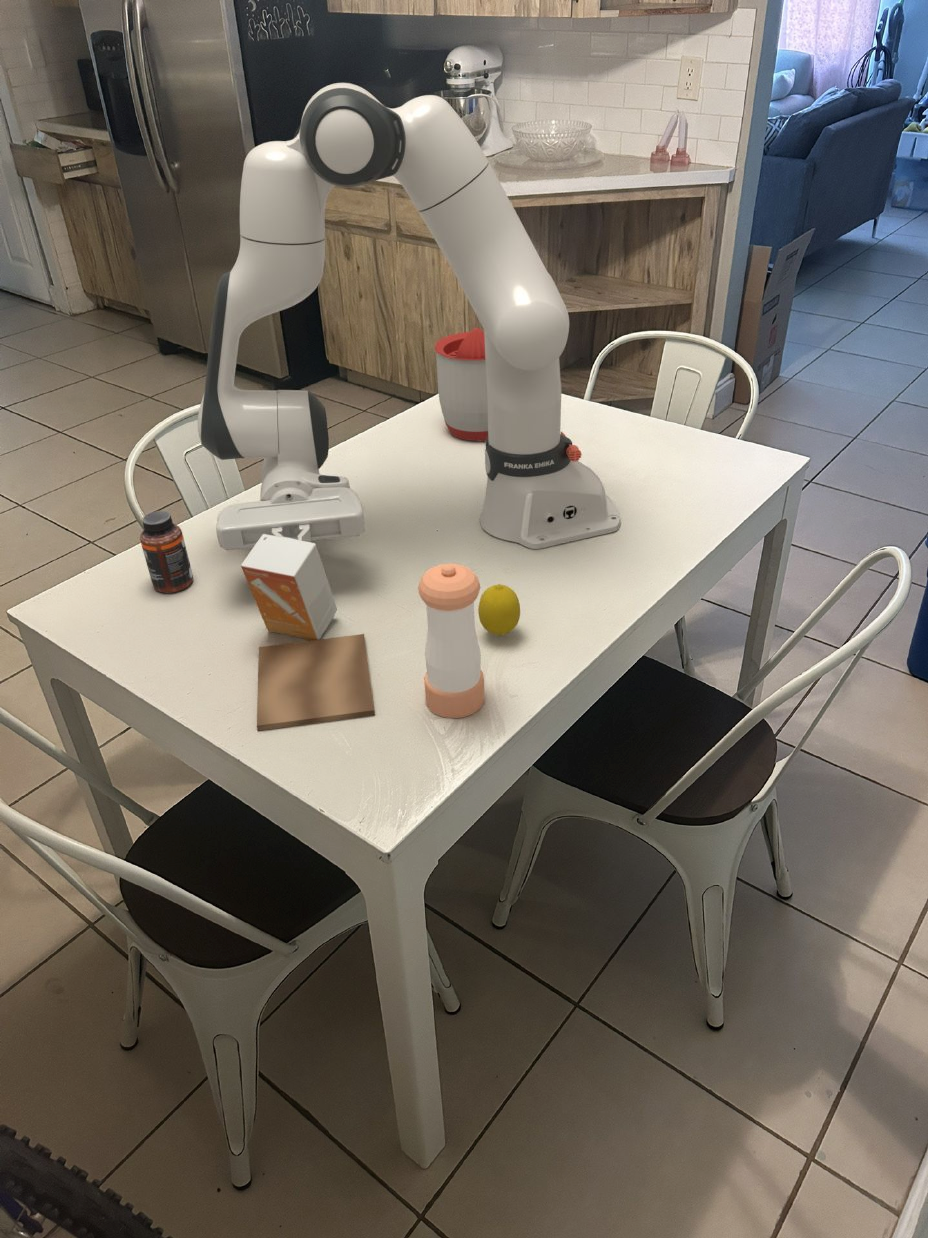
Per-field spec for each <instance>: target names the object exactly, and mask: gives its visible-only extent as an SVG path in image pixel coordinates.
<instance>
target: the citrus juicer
mask: <svg viewBox="0 0 928 1238" xmlns="http://www.w3.org/2000/svg"><path fill="white" fill-rule="evenodd" d="M433 348H434V351H435V355H436V374H437V391H438V399H439V403H440V404H439V405H440V410H441V413H442V415H443V419H444V423H445V426H446V427H447V429H448V431H449V433H450V434H451V435H453V436H454V437H456V438H459V439H461V440H467V441H480V442H486V439H487V437H488V399H487V378H486V359H485V339H484V330H481V329H480V328H478V327H474V328H473V329H472V330H471V331H466V332H465V331H464V332H459V333H458V332H457V333H454V334H450V335H447V336H445V337H442V338H440V339H439V340H437V341H436V343H435V344H434V347H433Z"/></svg>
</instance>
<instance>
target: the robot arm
mask: <svg viewBox="0 0 928 1238" xmlns="http://www.w3.org/2000/svg"><path fill="white" fill-rule="evenodd" d="M389 177H394V178H395V179H396V180H397V181H398V182H399V184H400V185H401V186H402V188H403V189H404V191H405V192H406V193H407V195H408V198H409V199H410V201H411V202H412V204H413V206H414V207H415V209H416V211H417V212H418V214H419V216H420V217H421V219H422V220H423V222H424V224H425V226H426V227H427V229H428V231H429V233H430V234H431V236H432V238H433V239H434V240H435V242H436V244H437V246H438V247H439V249H440V251H441V253H442V254H443V256H444V258H445V259H446V261H447V263H448V265H449V266H450V268H451V270H452V272H453V273H454V277H455V278H456V279H457V281H458V284H459V285H460V287H461V289H462V291H463V293H464V295H465V296H466V299H467V301H468V302H469V304H470V306H471V308H472V310H473V311H474V314H475V316H476V317H477V319H478V321H479V322H480V325H481V326H482V328H483V331H484V339H485V359H486V378H487V399H488V437H487V439H486V441H485V449H484V464H485V465H484V466H485V467H484V468H485V473H486V476H487V477H486V478H487V480H486V489H485V490H486V491H485V495H484V496H485V497H484V502H483V507H482V510H481V513H480V518H479V524H480V525H481V528H482V529H483V530H484V531H485V532H486V533H488V534H489V535H491V536H492V537H495V538H498V539H500V540H505V541H508V542H509V541H510V542H513V543H518V544H520V545H522V546H523V547H526V548H529V549H532V550H538V549H539V550H540V549H544V548H547V547H548V548H549V547H552V546H557V545H561V543H562V544H566V543H570V541H571V542H574V541H579V540H583V539H587V538H592V537H597V536H602V535H605V534H609V533H610V534H611V533H613V532H616V531H618V530H619V528H620V527H621V526H620V525H621V515H620V510H619V508H618V507H617V505H616V503H614V501H613V499H611V497H609V496H608V495H607V494H606V491H605V487H604V484H603V482H602V480H601V479H600V477H599V476H598V475H597V474H596V472H595V471H594V470H593V469H591V468H590V467H588V466H587V465H585V464H584V463H582V462H580V459H581V458H582V451H581V450H580V449H579V447H578V446H577V445H575V444H573V441H572V440H571V439H570V438H569V437H567V435H566V434H565V433H564V432H563V431H561V419H562V415H561V414H562V382H561V381H562V380H561V367H560V357H561V355H562V353H563V352H564V350H565V348H566V344H567V342H568V337H569V332H570V331H569V330H570V316H569V312H568V308H567V306H566V304H565V301H564V300H563V298H562V295H561V294H560V291H559V288H558V287H557V284H556V283H555V281H554V279H553V277H552V276H551V274H550V273H549V272H548V271H547V268H546V266H545V265H544V262H543V261H542V259H541V257H540V256H539V253H538V251H537V250H536V248H535V245H534V244H533V242H532V240H531V238H530V236H529V235H528V233H527V231H526V228H525V227H524V225H523V223H522V221H521V219H520V217H519V215H518V214H517V211H516V209H515V208H514V206H513V204H512V202H511V201H510V198H509V197H508V195H507V193H506V192H505V189H504V188H503V186H502V184H501V181H500V180H499V178H498V177H497V174H496V173H495V170H494V169H493V167H492V165H491V163H490V161H489V160H488V158H487V156H486V155H485V153H484V151H483V148H481V146H480V144H479V142H478V141H477V140H476V138H475V136H474V135H473V134H472V132H471V131H470V129H469V128H468V126H467V125H466V123H465V122H464V121H463V120H462V117H460V115H459V114H458V113H457V112H456V111H455V110H454V108H453V106H451V104H450V103H449V102H448V101H447V100H446V99H444V98H443V97H440V96H439V95H434V94H426V95H421V96H418V97H413V98H412V99H410V100H408V101H406V102H405V103H404V104H402V105H401V106H397V107H395V108H390V107H387V106H385V104H383V103H381V102H380V101H379V100H378V99H377V98H376V97H375V96H374V95H373V94H371V93H370V92H369V91H368V90H366V89H365V88H363V87H362V86H359V85H356V84H353V83H350V82H336V83H332V84H329V85H326V86H324V87H322V88H320V89H319V90H318V91H317V92H316V93H314V95H312V96H311V98H310V99H309V100H308V102H307V104H306V105H305V108H304V110H303V113H302V116H301V122H300V124H299V126H298V128H297V129H296V131H295V134H294V136H293V139H290V140H286V141H284V140H283V141H282V140H273V141H267V142H263V143H261V144H259V145H257V146H255V147H253V148H252V149H251V150H250V151H249V152H248V154H247V155H246V157H245V159H244V161H243V168H242V175H241V182H240V183H241V185H240V196H239V235H240V236H239V237H240V244H239V250H238V255H237V258H236V261H235V263H234V265H233V267H232V268H231V270H230V271H228V272H226V273H224V274H222V275H221V277H220V278H219V280H218V281H219V282H218V283H217V288H216V290H215V291H216V292H215V296H214V303H213V304H214V305H213V312H212V313H213V314H212V317H211V327H210V335H209V347H208V355H207V365H206V375H205V383H204V385H205V386H204V392H203V395H202V399H201V403H200V404H199V405H200V406H199V410H198V416H197V433H198V437H199V440H200V444H201V445H202V446H203V447H204V448H205V450H207V451H208V452H209V453H211V454H212V456H215V457H216V458H217V459H219V460H222V461H224V460H225V461H226V460H236V459H237V460H238V459H244V458H263V462H262V467H261V473H260V482H261V485H260V496H259V497H260V498H259V501H251V502H242V503H235V504H234V503H232V504H229V505H227V506H225V508H223V509H222V510H221V511H219V512H217V513H218V514H217V522H216V527H215V531H216V536H217V540H218V541H217V542H218V545H219V548H221V549H223V550H225V551H231V550H232V551H234V550H240V549H241V550H242V549H243V550H244V549H253V547H254V546H255V544H256V543H257V542H258V540H259V539H260V537H261V536H262V535H263V534H267V535H273V536H279V537H287V538H292V539H296V540H301V541H306V542H311V543H312V542H314V541H324V540H331V539H332V540H333V539H340V538H351V537H359V536H361V535H362V534H364V533H365V532H366V524H365V518H364V517H365V516H364V510H363V509H364V508H363V506H362V503H361V501H360V498H359V496H358V494H357V493H356V492H355V490H354V489H353V488H352V489H351V485H350V482H349V479H348V477H347V476H342V475H341V476H340V475H339V476H338V475H328V474H327V475H326V474H325V475H324V474H320V468H321V467H322V466H323V465H324V463H325V462H326V461H327V458H328V456H329V449H330V448H329V447H330V445H329V444H330V441H329V440H330V438H329V428H328V418H327V412H326V407H325V406H324V404H323V403H322V401H321V400H320V399H319V398H318V397H317V396H316V394H314V393H313V392H312V391H310V390H302V389H301V390H299V389H298V390H297V389H296V390H295V389H294V390H293V389H277V390H273V389H272V390H269V389H268V390H261V389H258V390H257V389H255V390H254V389H241V388H239V387H237V386H235V376H236V369H237V359H238V353H239V352H238V351H239V344H240V338H241V335H242V333H243V332H244V330H245V329H246V328H247V327H248V326H250V325H251V324H253V323H254V322H255V321H258V320H260V319H262V318H264V317H267V316H270V315H272V314H275V313H278V312H281V311H284V310H286V309H289V308H291V307H294V306H295V305H297V304H299V303H301V302H303V301H304V300H305V299H306V298H308V297H309V296H310V295H311V294H312V293H313V292H315V290H316V289H317V287H318V285H319V284H320V283H321V280H322V278H323V276H324V275H323V274H324V267H325V256H326V225H325V222H326V221H325V220H326V219H325V216H326V215H325V214H326V204H327V199H328V197H329V194H330V192H331V191H332V189H333V188H335V186H337V187H342V188H354V187H359V186H363V185H367V184H370V183H373V182H376V181H379V180H382V179H386V178H389Z"/></svg>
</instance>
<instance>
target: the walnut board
mask: <svg viewBox="0 0 928 1238" xmlns="http://www.w3.org/2000/svg"><path fill="white" fill-rule="evenodd" d="M365 638H366V637H365V633H360V634H351V635H344V636H337V637H329V638H327V637H326V638H320V639H319V640H305V641H304V640H303V641H297V642H288V643H278V644H271V645H264V646H258V661H257V662H258V665H257V666H258V667H257V668H258V670H257V671H258V672H257V702H256V703H257V705H256V728H257V732H258V731H261V732H262V731H266V730H267V731H268V730H275V729H282V728H283V729H284V728H288V727H297V726H305V725H311V724H316V723H318V724H320V723H326V722H334V721H340V720H348V719H349V720H350V719H356V718H365V717H370V716H371V717H372V716H375V715H376V714H375V706H374V700H373V692H372V682H371V677H370V675H371V674H370V668H369V667H370V666H369V660H368V653H367V646H366V639H365Z"/></svg>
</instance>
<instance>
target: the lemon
mask: <svg viewBox="0 0 928 1238" xmlns="http://www.w3.org/2000/svg"><path fill="white" fill-rule="evenodd" d="M477 612H478V618H479V622H480V624H481V625H482V627H483V629H485V631H486V632H488V633H490V634H492V635H493V636H495V635H496V636H498V635H499V636H498V637H501V636H504V635H507V634H509V633H511V632H512V631H513V630H514V629H515V628H516V627H517V626H518V624H519V621H520V617H521V604H520V601H519V597H518V596H517V594H516V592H515V591H514V589H513V588H511V587H510V586H507V585H504V584H494V585H492V586H489V587H487V588H486V589H485V590H484V591H483V592H482V594H481V595H480V598H479V602H478V609H477Z"/></svg>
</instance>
